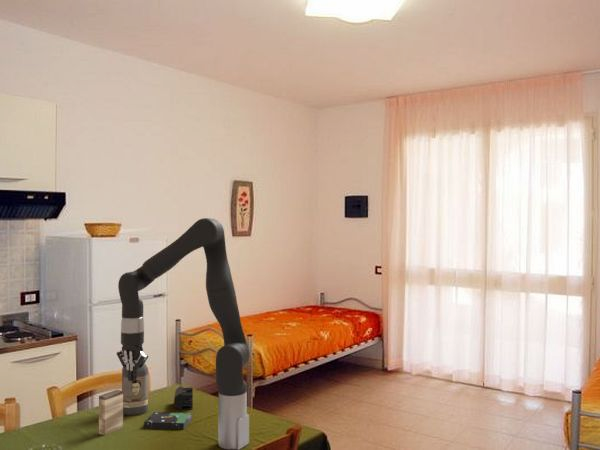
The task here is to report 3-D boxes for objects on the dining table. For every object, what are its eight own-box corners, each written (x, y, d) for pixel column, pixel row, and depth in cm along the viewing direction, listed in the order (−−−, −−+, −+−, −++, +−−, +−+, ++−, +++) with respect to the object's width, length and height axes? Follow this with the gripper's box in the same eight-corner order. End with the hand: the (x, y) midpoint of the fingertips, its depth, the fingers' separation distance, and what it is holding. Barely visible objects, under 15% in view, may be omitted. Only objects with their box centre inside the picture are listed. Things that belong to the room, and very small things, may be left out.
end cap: (174, 402, 211) (174, 386, 211) (192, 401, 213) (192, 385, 213) (173, 411, 202) (173, 394, 202) (192, 410, 203) (192, 392, 203)
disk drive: (143, 430, 185) (184, 430, 184) (143, 422, 185) (184, 422, 184) (153, 419, 195) (192, 419, 194) (153, 411, 195) (192, 412, 194)
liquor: (121, 408, 204) (121, 332, 204) (145, 405, 208) (145, 330, 208) (123, 416, 196) (123, 336, 196) (148, 413, 199) (148, 334, 199)
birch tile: (122, 427, 186) (123, 390, 186) (104, 435, 178) (105, 397, 178) (116, 425, 187) (117, 389, 187) (98, 433, 180) (98, 396, 180)
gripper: (154, 330, 178) (154, 380, 178) (126, 326, 184) (126, 375, 184) (138, 334, 172) (138, 386, 172) (110, 329, 178) (109, 380, 178)
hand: (132, 380), depth 178 cm, fingers closed
